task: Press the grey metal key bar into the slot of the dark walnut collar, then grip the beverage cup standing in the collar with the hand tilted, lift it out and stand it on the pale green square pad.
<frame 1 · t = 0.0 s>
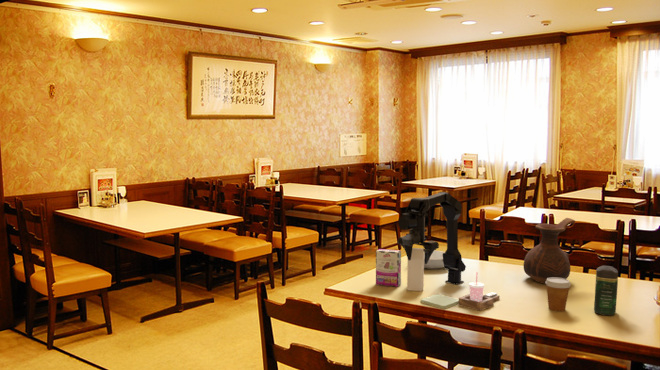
hand: (417, 262, 244), 15 cm above the table, tool pointing down, fingers open, 9 cm apart
candy bar box: (388, 285, 261), on the table
coffee jar: (604, 312, 222), on the table
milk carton: (415, 289, 254), on the table
serving bowl: (430, 267, 294), on the table
jug: (546, 280, 268), on the table
collar: (476, 305, 231), on the table
beverage cup: (476, 305, 231), resting in collar
pale green square pad: (440, 302, 234), on the table
key bar: (490, 296, 238), point 1 cm above the table, slide at 0.0 cm
disposable coffee cup: (556, 309, 226), on the table
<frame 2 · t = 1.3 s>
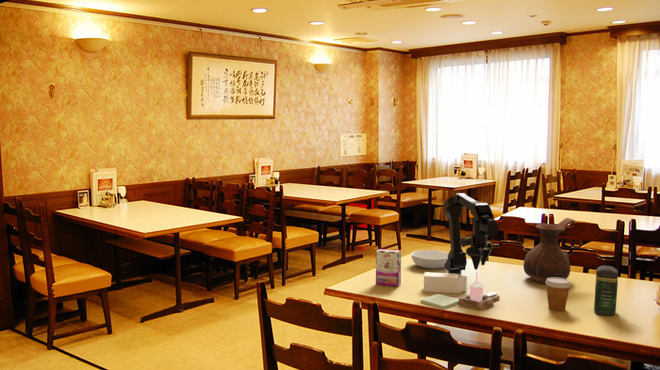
hand: (479, 267, 242), 13 cm above the table, tool pointing down, fingers open, 9 cm apart
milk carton: (423, 281, 253), point 4 cm above the table
everything else where it was.
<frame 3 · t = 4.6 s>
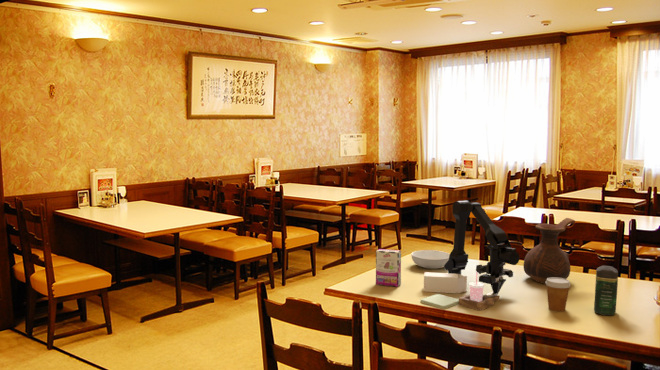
hand: (495, 295, 241), 1 cm above the table, tool pointing down, fingers closed
key bar: (490, 296, 238), point 1 cm above the table, slide at 0.0 cm, touching gripper
everything else where it was.
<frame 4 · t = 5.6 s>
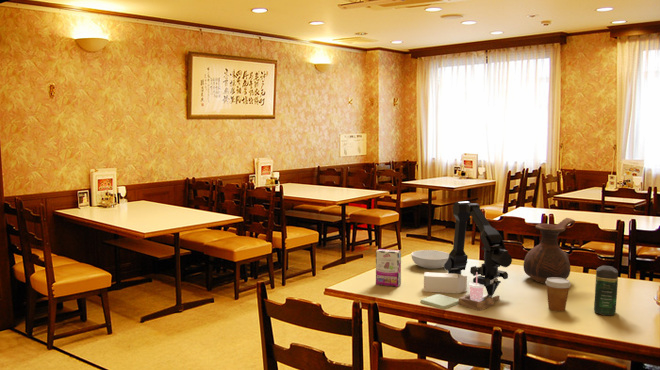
hand: (490, 297, 238), 1 cm above the table, tool pointing down, fingers closed
key bar: (485, 298, 235), point 1 cm above the table, slide at 4.2 cm, touching gripper
everything else where it was.
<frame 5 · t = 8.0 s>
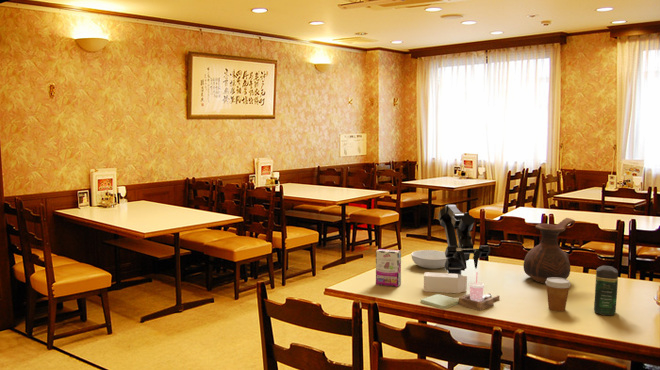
hand: (471, 268, 237), 14 cm above the table, tool tilted 45°, fingers open, 4 cm apart
key bar: (485, 298, 235), point 1 cm above the table, slide at 4.2 cm
everything else where it was.
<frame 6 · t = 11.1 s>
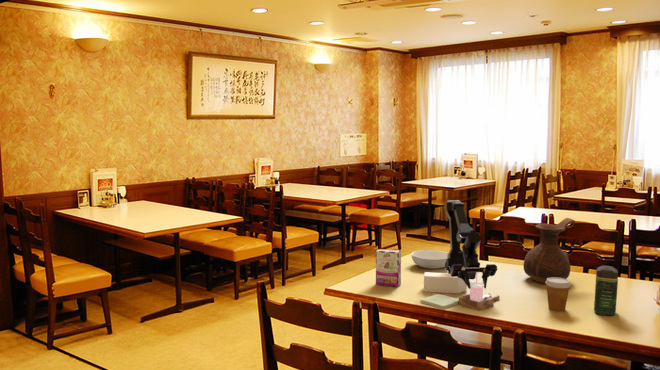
hand: (477, 288, 229), 8 cm above the table, tool tilted 45°, fingers closed on beverage cup, 6 cm apart
beverage cup: (476, 305, 231), resting in collar, touching gripper
everything else where it was.
when the fingers open (10 cm above the table, at t = 14.8 s): beverage cup drops 1 cm, resting on pale green square pad.
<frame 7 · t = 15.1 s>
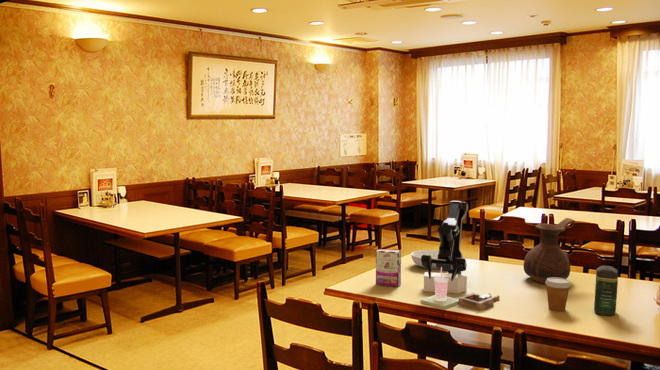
hand: (440, 279, 232), 10 cm above the table, tool tilted 45°, fingers open, 9 cm apart
beverage cup: (440, 300, 234), point 1 cm above the table, touching pale green square pad
everything else where it was.
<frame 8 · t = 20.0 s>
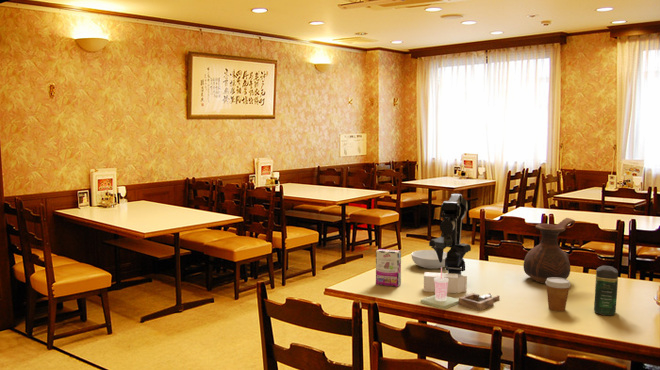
hand: (449, 264, 247), 13 cm above the table, tool pointing down, fingers open, 9 cm apart
nothing on the table moved.
at the end: key bar slide at 4.2 cm; beverage cup inside the target area on the pale green square pad (0.2 cm from its centre), point 1.0 cm above the pale green square pad's base; beverage cup tilted 0° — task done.
